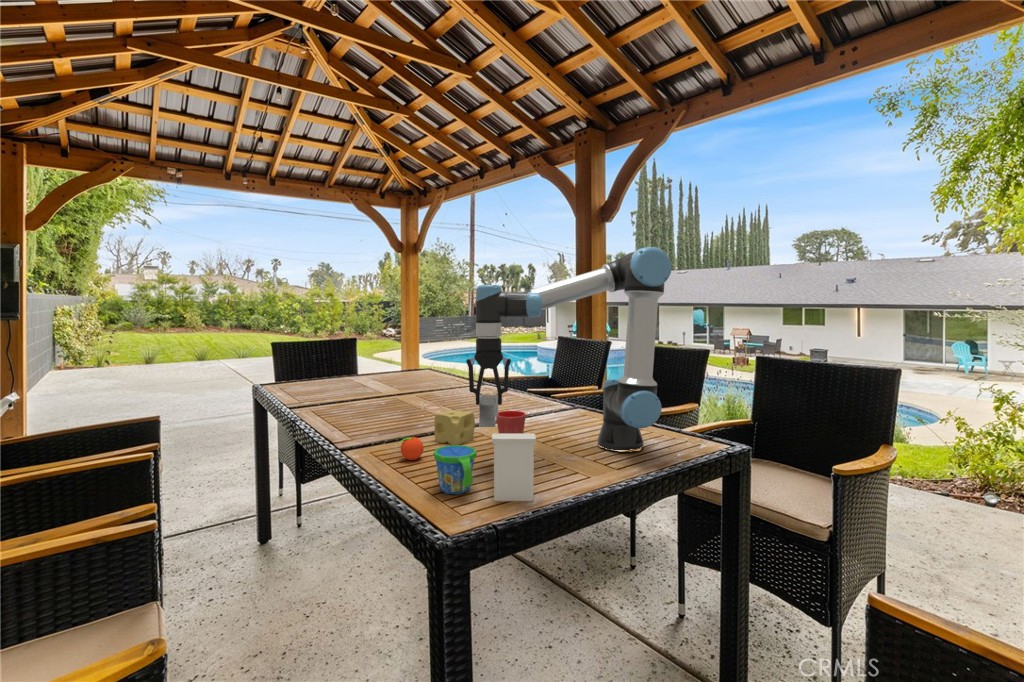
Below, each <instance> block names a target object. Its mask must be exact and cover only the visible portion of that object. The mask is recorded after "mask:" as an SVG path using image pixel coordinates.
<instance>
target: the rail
mask: <svg viewBox="0 0 1024 682" xmlns="http://www.w3.org/2000/svg"><path fill="white" fill-rule="evenodd" d="M478 427H479V428H496V398H495V394H482V399H481V403H480V405H478Z"/></svg>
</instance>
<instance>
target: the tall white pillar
mask: <svg viewBox="0 0 1024 682" xmlns="http://www.w3.org/2000/svg"><path fill="white" fill-rule="evenodd" d="M491 444H492V445H493V450H494V451H493V501H494V502H534V473H535V472H534V467H535V466H534V464H535V463H534V458H535V456H534V453H535V450H534V449H535V448H534V446H535V445H536V444H537V437H536V433H523V434H499V433H492V435H491Z"/></svg>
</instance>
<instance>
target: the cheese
mask: <svg viewBox="0 0 1024 682" xmlns="http://www.w3.org/2000/svg"><path fill="white" fill-rule="evenodd" d="M475 427H476V418H475V412H473V411H462V410H455V409H451V410H447V411H443V412H439V413H436V414H434V442H435V441H436V442H437V443H441V444H448V445H449V446H450V445H462V444H464V443H467V442H470V441H473V440H474V436H475V435H474V434H475Z"/></svg>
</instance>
